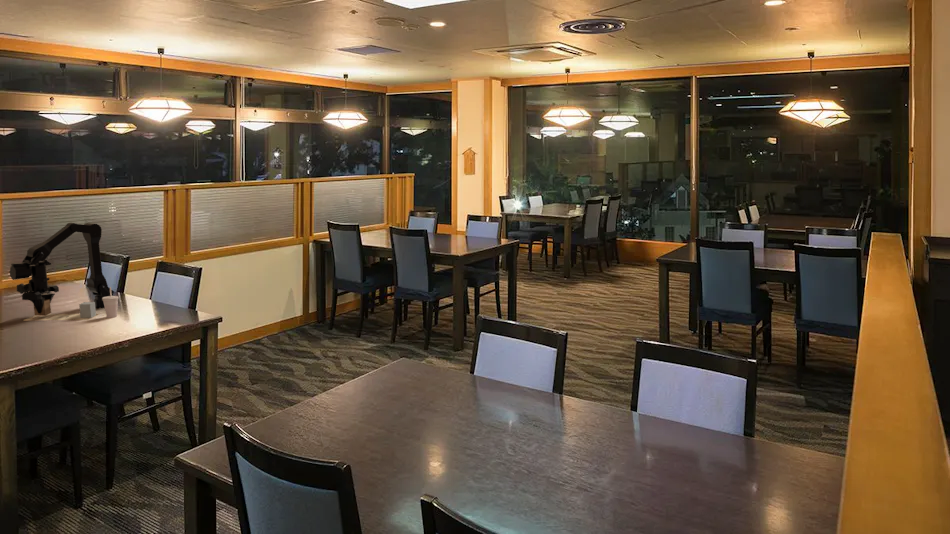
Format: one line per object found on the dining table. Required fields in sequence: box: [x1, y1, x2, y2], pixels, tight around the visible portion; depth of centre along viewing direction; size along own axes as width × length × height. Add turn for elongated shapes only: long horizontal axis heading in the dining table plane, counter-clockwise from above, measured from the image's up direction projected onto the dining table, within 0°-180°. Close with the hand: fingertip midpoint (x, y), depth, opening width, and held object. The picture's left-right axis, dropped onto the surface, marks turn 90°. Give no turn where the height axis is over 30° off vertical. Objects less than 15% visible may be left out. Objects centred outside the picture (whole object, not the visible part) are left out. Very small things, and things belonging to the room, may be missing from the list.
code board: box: [22, 313, 100, 322], centre depth 311 cm, size 27×12×1 cm, turn 93°
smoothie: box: [102, 286, 119, 319], centre depth 310 cm, size 6×6×14 cm
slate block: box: [78, 301, 97, 319], centre depth 311 cm, size 4×4×6 cm
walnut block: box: [33, 299, 52, 316], centre depth 309 cm, size 4×4×6 cm
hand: (42, 312), depth 310 cm, fingers closed on walnut block, 4 cm apart
